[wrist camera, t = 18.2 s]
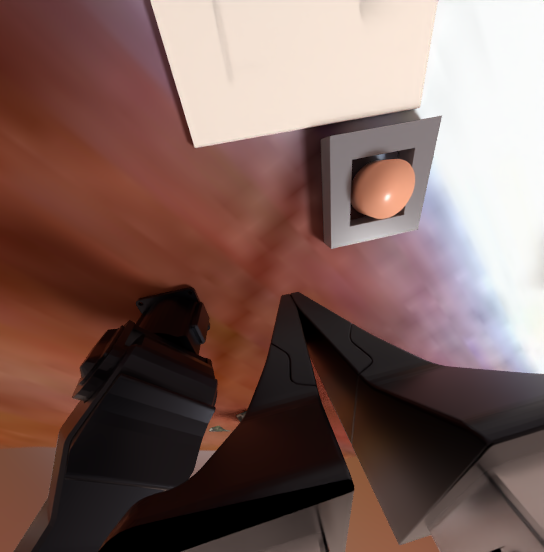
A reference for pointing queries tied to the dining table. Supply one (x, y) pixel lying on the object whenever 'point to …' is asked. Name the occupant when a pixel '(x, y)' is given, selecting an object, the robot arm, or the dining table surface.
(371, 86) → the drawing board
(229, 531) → the robot arm
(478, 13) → the dining table surface
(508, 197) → the dining table surface
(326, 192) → the button housing
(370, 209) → the button
